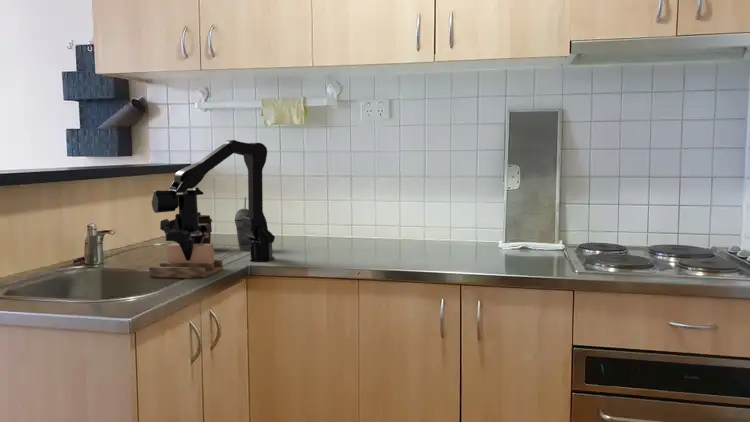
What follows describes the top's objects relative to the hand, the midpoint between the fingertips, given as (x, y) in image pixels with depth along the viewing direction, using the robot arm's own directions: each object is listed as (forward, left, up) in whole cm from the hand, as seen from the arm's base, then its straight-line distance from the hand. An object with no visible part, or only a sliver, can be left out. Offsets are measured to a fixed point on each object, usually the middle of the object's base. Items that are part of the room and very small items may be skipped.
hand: (191, 259), depth 190 cm
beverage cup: (-2, -37, -4) cm, 37 cm away
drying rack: (0, +3, -4) cm, 5 cm away
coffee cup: (+16, -37, -4) cm, 41 cm away
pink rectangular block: (0, 0, -1) cm, 1 cm away
